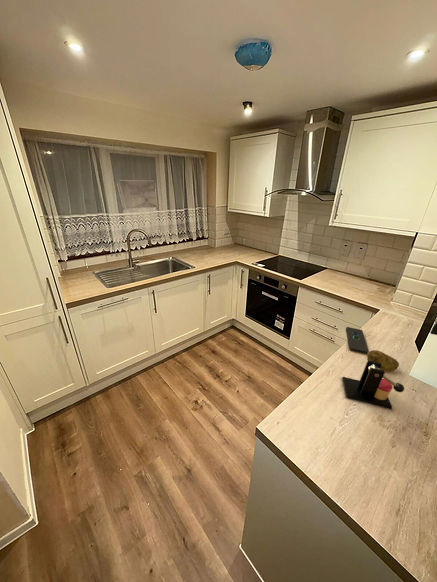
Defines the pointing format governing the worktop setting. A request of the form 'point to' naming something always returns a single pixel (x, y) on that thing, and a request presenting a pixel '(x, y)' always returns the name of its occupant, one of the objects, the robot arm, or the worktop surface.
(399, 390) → the black ball knob
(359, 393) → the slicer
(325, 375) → the worktop surface
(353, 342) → the smart home device
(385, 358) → the potato
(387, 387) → the cake
